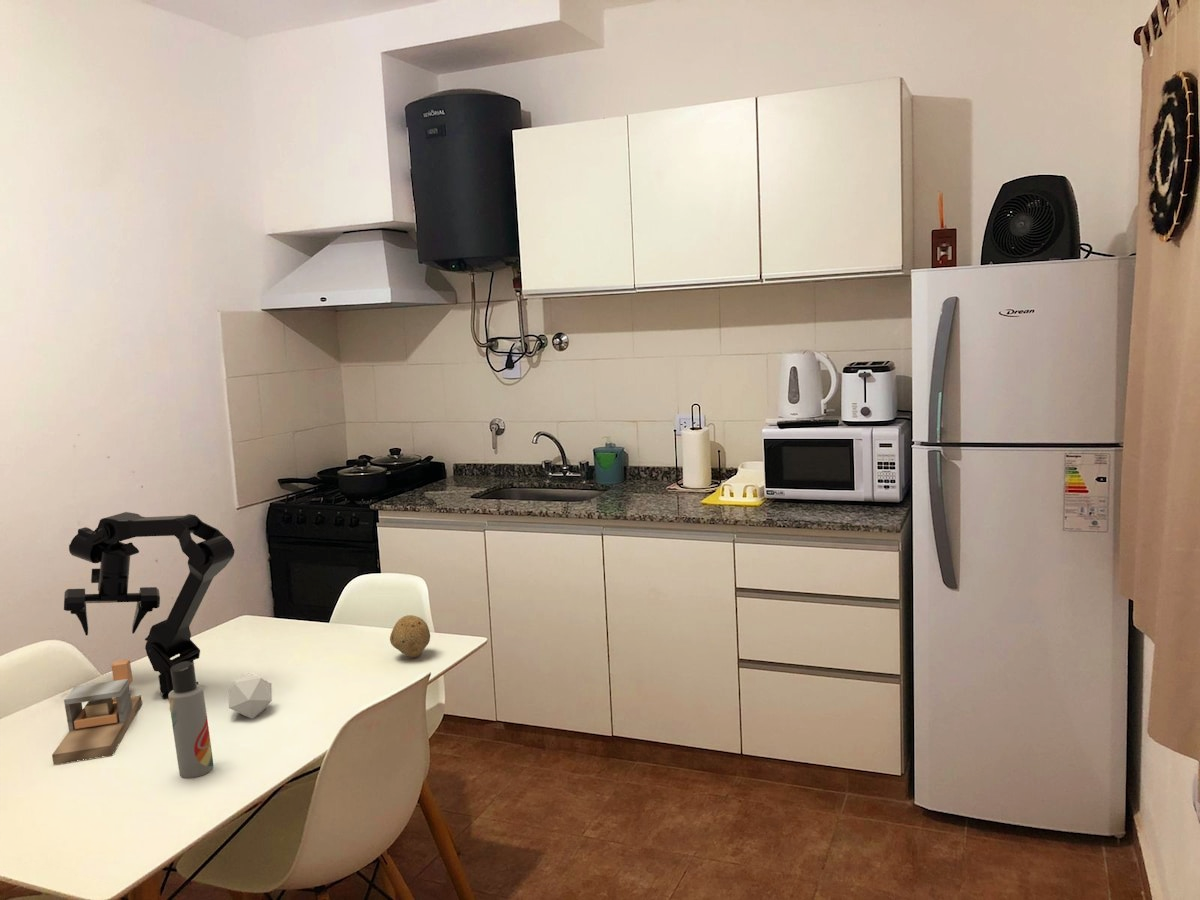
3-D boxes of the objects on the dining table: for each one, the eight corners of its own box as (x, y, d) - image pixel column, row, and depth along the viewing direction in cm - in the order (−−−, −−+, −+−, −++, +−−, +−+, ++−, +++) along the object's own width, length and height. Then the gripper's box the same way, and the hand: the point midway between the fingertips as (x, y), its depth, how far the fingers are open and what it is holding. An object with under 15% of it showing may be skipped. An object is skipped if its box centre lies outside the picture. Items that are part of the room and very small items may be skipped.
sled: (144, 678, 209) (140, 657, 208) (117, 722, 186) (113, 698, 186) (106, 684, 207) (103, 662, 207) (74, 728, 185) (71, 704, 184)
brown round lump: (385, 663, 215) (380, 621, 213) (402, 649, 223) (398, 609, 222) (422, 664, 213) (418, 622, 211) (437, 650, 221) (433, 609, 220)
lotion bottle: (220, 764, 170) (206, 659, 167) (198, 780, 165) (182, 671, 162) (195, 761, 172) (180, 657, 169) (172, 776, 167) (156, 669, 164)
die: (282, 714, 192) (279, 669, 196) (252, 710, 185) (249, 663, 189) (251, 727, 194) (248, 681, 199) (220, 723, 187) (217, 676, 191)
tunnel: (142, 703, 201) (136, 666, 200) (112, 755, 177) (105, 712, 176) (91, 711, 199) (85, 673, 198) (53, 764, 175) (46, 721, 174)
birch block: (114, 714, 192) (112, 695, 191) (109, 722, 188) (106, 703, 187) (93, 717, 191) (90, 698, 190) (87, 725, 187) (84, 706, 186)
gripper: (159, 554, 218) (153, 616, 222) (66, 555, 209) (62, 619, 213) (162, 574, 209) (157, 638, 213) (65, 575, 200) (61, 642, 203)
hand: (110, 633), depth 211 cm, fingers open, 9 cm apart
